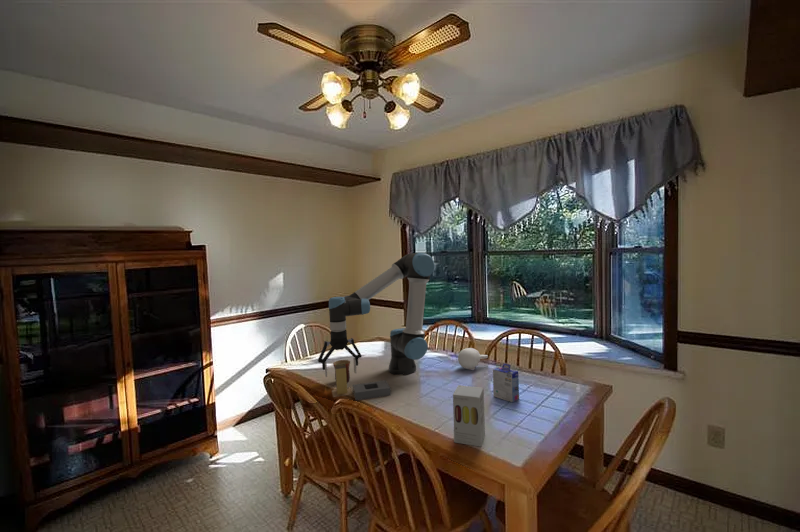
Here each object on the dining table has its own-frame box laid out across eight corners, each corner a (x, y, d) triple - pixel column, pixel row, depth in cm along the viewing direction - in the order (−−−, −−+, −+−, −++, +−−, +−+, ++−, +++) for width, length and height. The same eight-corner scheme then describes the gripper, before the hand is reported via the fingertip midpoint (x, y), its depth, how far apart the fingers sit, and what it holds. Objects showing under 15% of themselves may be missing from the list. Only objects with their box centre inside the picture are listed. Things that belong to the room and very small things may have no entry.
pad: (350, 388, 177) (350, 387, 176) (352, 395, 168) (352, 394, 168) (331, 391, 174) (331, 389, 174) (333, 398, 166) (333, 396, 166)
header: (386, 388, 174) (385, 380, 174) (390, 396, 165) (390, 387, 164) (353, 393, 170) (352, 384, 170) (355, 401, 161) (355, 392, 160)
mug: (337, 378, 191) (336, 359, 190) (353, 379, 189) (352, 360, 188) (329, 387, 179) (327, 367, 178) (345, 388, 177) (344, 367, 177)
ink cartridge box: (520, 399, 155) (518, 365, 154) (513, 403, 151) (512, 369, 151) (500, 393, 162) (498, 361, 162) (492, 396, 159) (491, 364, 158)
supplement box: (453, 442, 123) (451, 394, 122) (459, 429, 131) (457, 384, 131) (482, 447, 119) (480, 397, 119) (485, 433, 128) (484, 386, 127)
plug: (346, 389, 174) (344, 362, 173) (347, 393, 169) (345, 365, 169) (336, 390, 173) (335, 364, 172) (337, 394, 168) (336, 367, 168)
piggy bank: (467, 376, 189) (484, 370, 199) (473, 356, 187) (490, 351, 197) (450, 364, 198) (467, 360, 208) (455, 345, 196) (472, 341, 206)
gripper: (363, 325, 176) (365, 368, 177) (311, 331, 170) (313, 375, 171) (365, 328, 169) (368, 373, 170) (311, 334, 163) (314, 380, 164)
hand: (340, 374), depth 171 cm, fingers open, 13 cm apart
